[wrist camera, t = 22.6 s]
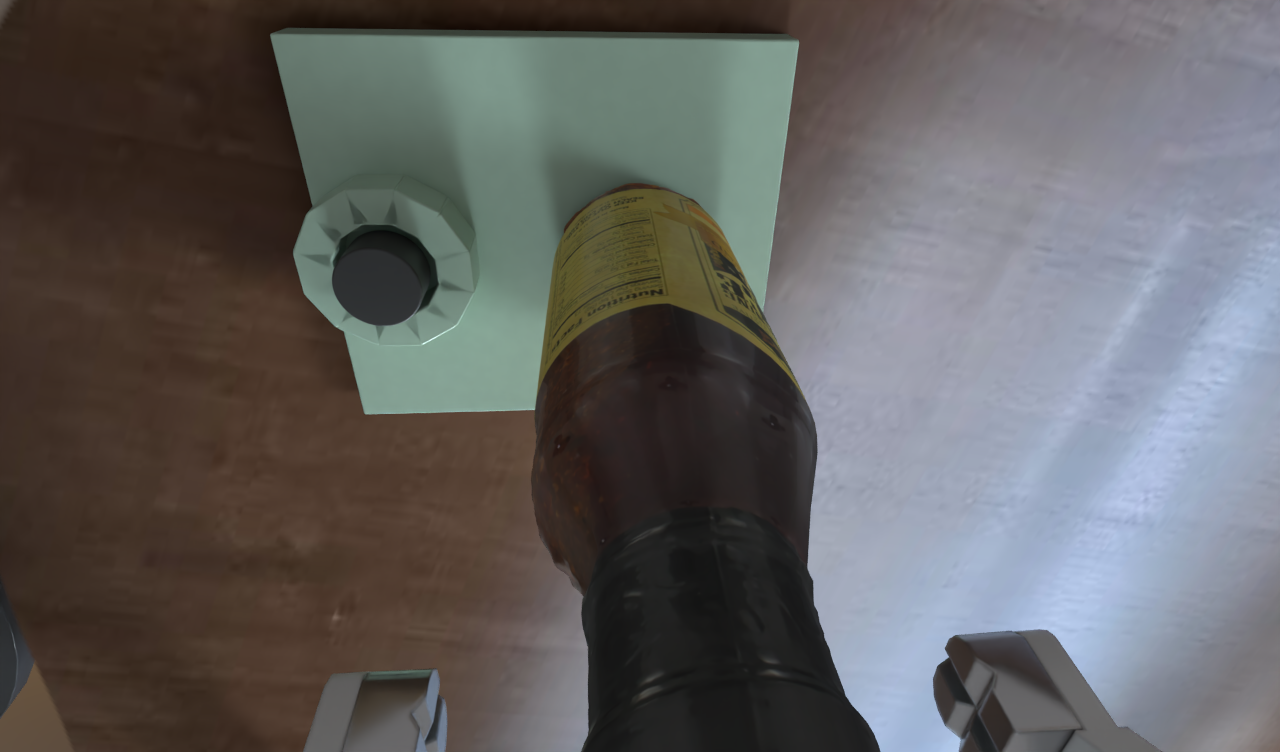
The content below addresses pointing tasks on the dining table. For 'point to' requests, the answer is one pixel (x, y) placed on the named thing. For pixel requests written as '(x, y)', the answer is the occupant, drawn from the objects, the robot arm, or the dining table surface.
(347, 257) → the button
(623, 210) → the sauce bottle
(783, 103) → the green panel with knob
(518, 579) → the dining table surface
